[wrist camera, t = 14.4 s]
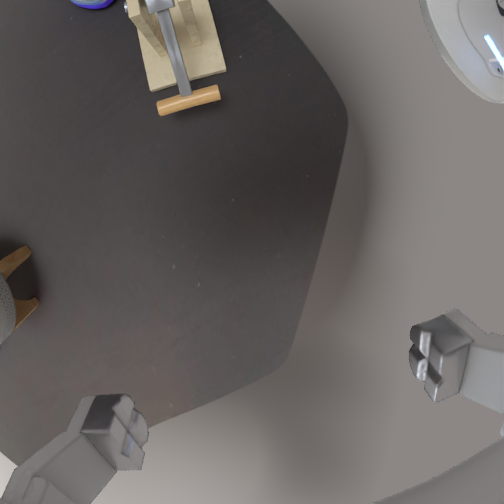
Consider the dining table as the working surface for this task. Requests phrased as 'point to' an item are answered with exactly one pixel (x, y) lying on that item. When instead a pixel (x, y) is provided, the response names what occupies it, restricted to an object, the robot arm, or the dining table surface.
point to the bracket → (189, 37)
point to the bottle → (92, 3)
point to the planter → (3, 304)
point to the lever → (178, 65)
